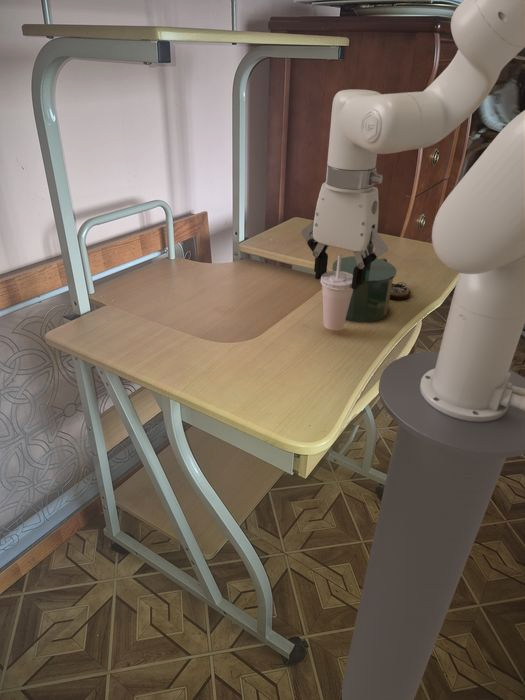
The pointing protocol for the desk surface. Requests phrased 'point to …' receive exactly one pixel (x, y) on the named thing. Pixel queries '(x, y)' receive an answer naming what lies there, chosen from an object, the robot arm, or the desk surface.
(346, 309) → the smoothie
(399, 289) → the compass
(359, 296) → the pot
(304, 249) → the desk surface
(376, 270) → the lid
